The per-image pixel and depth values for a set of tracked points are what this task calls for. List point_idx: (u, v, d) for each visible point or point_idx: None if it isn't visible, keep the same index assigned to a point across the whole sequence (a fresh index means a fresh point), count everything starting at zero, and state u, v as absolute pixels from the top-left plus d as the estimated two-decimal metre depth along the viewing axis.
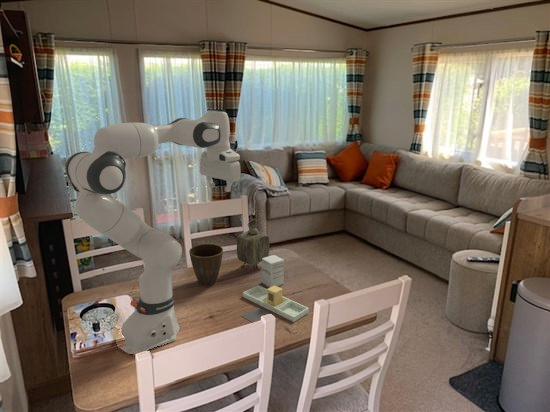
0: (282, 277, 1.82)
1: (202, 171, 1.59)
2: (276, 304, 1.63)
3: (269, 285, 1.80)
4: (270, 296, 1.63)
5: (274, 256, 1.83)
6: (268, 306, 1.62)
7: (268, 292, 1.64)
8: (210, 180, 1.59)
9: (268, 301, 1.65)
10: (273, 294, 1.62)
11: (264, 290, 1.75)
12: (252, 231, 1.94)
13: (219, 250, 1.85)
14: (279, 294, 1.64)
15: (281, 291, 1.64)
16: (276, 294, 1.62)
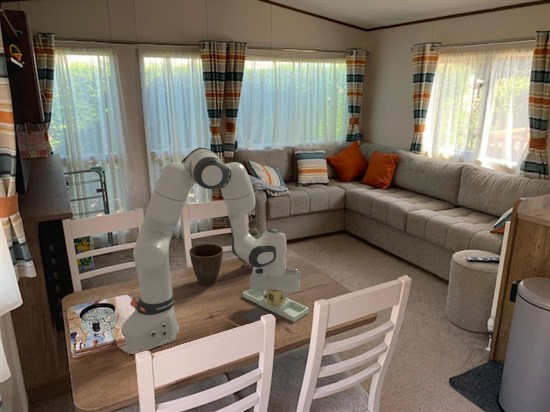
0: None
1: None
2: (276, 304, 1.63)
3: None
4: (270, 296, 1.63)
5: None
6: (268, 306, 1.62)
7: (268, 292, 1.64)
8: (285, 293, 1.64)
9: (268, 301, 1.65)
10: (273, 294, 1.62)
11: (264, 290, 1.75)
12: (252, 231, 1.94)
13: (219, 250, 1.85)
14: (279, 294, 1.64)
15: (281, 291, 1.64)
16: (276, 294, 1.62)
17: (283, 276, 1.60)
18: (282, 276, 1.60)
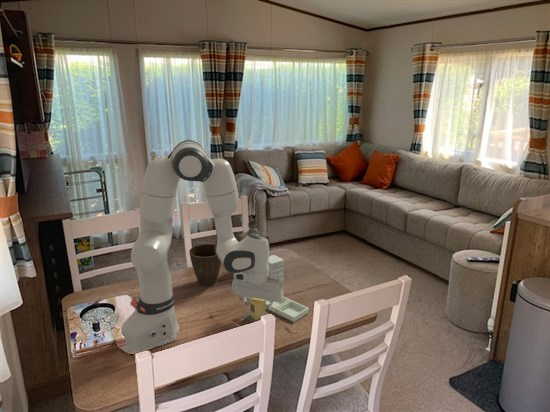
0: (282, 277, 1.82)
1: None
2: (257, 316, 1.55)
3: None
4: (252, 307, 1.55)
5: (274, 256, 1.83)
6: None
7: (250, 302, 1.56)
8: None
9: (250, 312, 1.57)
10: (254, 304, 1.54)
11: None
12: (252, 231, 1.94)
13: None
14: (261, 306, 1.55)
15: (263, 303, 1.55)
16: (257, 305, 1.53)
17: (264, 284, 1.51)
18: (263, 284, 1.51)
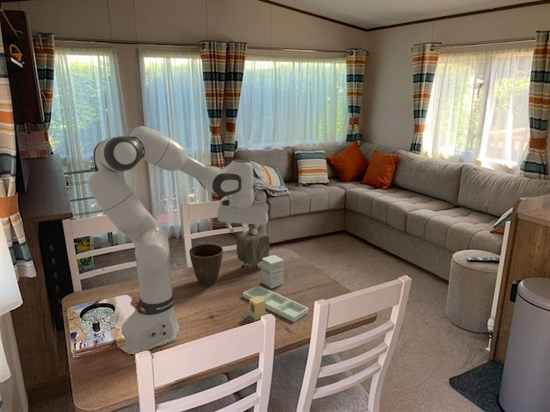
0: (282, 277, 1.82)
1: None
2: (257, 316, 1.55)
3: (269, 285, 1.80)
4: (252, 307, 1.55)
5: (274, 256, 1.83)
6: (268, 306, 1.62)
7: (250, 302, 1.56)
8: None
9: (250, 312, 1.57)
10: (254, 304, 1.54)
11: (264, 290, 1.75)
12: None
13: (219, 250, 1.85)
14: (261, 306, 1.55)
15: (263, 303, 1.55)
16: (257, 305, 1.53)
17: (250, 208, 1.59)
18: (249, 208, 1.59)
